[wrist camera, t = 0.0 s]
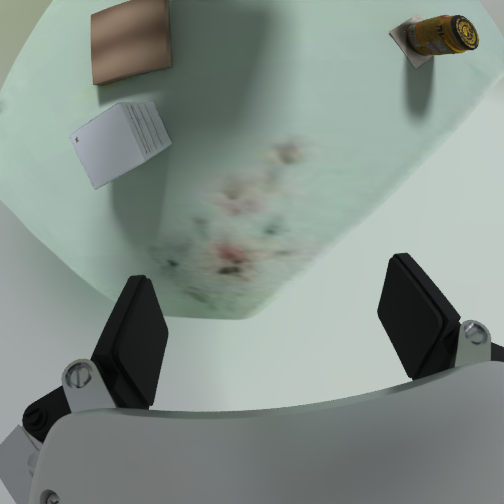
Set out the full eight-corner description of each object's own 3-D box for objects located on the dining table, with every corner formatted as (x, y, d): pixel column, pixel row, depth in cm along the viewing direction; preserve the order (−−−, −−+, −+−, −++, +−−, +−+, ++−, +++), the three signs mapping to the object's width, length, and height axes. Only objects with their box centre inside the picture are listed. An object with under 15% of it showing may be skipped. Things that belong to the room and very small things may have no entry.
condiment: (441, 49, 28) (489, 46, 17) (415, 69, 30) (463, 67, 20) (417, 14, 25) (462, 1, 14) (388, 32, 27) (433, 18, 17)
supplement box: (131, 165, 37) (92, 192, 26) (112, 123, 34) (66, 135, 23) (174, 145, 36) (146, 163, 25) (155, 100, 33) (119, 100, 22)
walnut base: (99, 19, 24) (90, 15, 22) (168, -2, 24) (163, -9, 22) (102, 85, 30) (93, 85, 28) (172, 67, 30) (167, 64, 28)
